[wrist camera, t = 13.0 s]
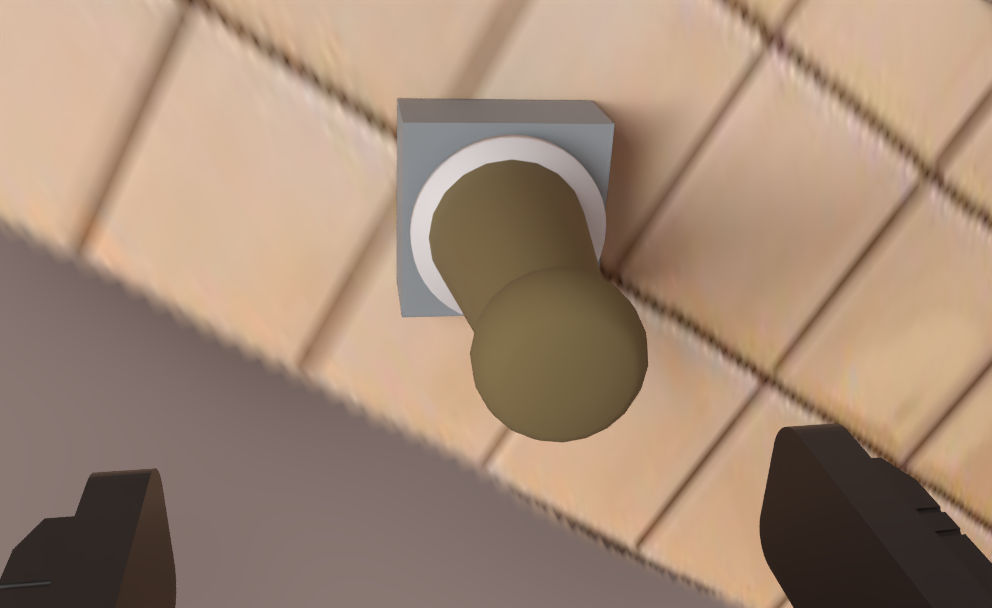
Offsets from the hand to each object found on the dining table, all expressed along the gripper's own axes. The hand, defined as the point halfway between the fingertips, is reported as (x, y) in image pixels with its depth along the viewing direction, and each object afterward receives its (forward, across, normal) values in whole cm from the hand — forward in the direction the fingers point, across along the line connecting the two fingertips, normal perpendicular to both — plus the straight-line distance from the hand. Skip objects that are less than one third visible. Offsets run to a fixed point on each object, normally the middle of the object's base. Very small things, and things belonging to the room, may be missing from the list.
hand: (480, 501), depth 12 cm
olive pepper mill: (+23, -5, +6) cm, 25 cm away
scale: (+28, -5, +6) cm, 29 cm away
